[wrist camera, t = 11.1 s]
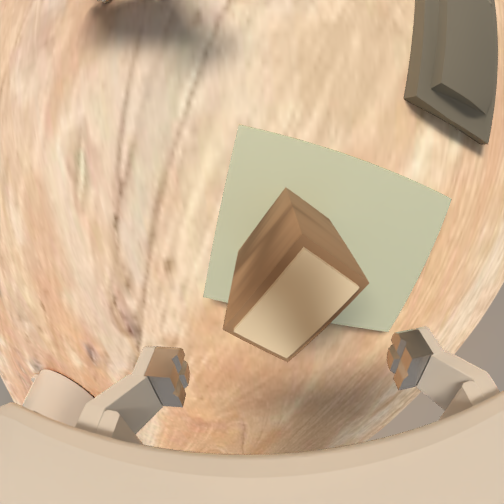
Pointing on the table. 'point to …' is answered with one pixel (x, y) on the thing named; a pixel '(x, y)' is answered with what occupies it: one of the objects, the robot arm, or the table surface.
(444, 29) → the soap mold
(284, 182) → the board
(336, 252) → the block
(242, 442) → the table surface
